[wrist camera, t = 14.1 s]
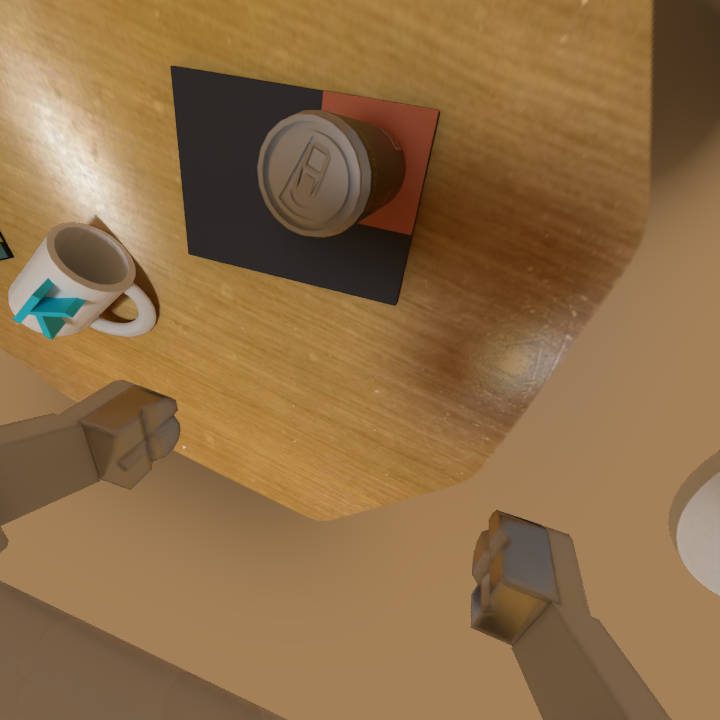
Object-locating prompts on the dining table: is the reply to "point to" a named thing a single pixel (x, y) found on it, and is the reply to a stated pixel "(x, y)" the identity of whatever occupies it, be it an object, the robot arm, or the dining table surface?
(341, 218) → the beer can
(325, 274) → the mat
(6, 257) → the carton
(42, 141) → the dining table surface
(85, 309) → the mug
